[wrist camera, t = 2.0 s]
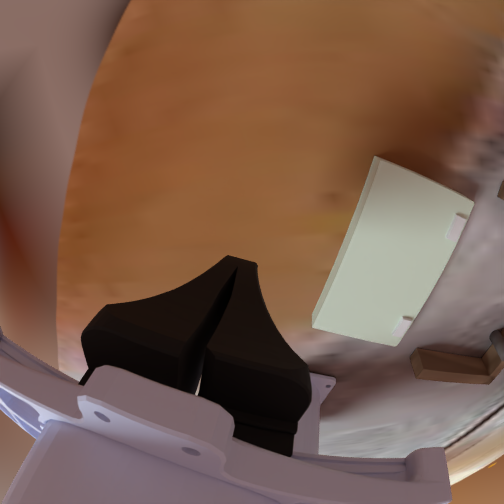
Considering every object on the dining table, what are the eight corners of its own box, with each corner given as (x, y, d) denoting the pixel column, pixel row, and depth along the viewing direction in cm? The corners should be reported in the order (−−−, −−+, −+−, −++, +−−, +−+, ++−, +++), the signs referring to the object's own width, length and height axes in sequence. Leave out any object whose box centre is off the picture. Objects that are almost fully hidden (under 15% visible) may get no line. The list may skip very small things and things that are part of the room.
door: (391, 329, 22) (396, 349, 20) (312, 310, 22) (311, 330, 20) (460, 193, 16) (476, 204, 14) (372, 154, 16) (382, 160, 14)
